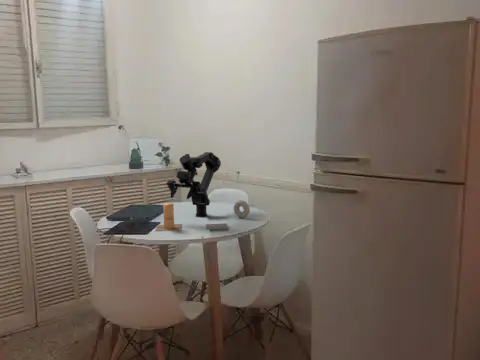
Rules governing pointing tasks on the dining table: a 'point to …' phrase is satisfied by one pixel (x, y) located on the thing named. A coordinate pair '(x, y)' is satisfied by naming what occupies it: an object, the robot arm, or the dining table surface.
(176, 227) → the post board
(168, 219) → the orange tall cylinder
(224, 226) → the mat
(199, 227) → the dining table surface
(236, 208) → the donut
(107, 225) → the dining table surface
